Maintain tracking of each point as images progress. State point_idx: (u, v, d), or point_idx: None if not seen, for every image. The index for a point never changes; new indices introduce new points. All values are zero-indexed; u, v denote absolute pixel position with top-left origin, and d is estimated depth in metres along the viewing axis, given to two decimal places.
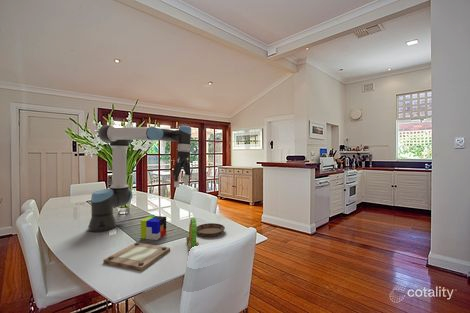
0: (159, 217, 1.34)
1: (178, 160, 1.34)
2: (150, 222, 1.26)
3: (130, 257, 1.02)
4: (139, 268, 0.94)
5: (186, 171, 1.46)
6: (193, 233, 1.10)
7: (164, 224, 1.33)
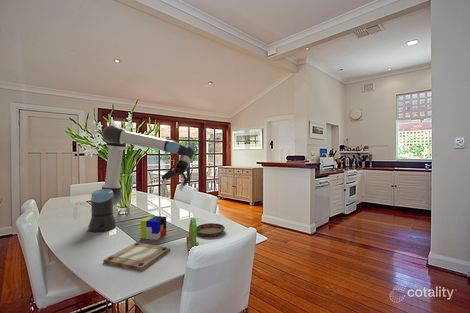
0: (159, 217, 1.34)
1: (189, 170, 1.51)
2: (150, 222, 1.26)
3: (130, 257, 1.02)
4: (139, 268, 0.94)
5: (168, 177, 1.51)
6: (193, 233, 1.10)
7: (164, 224, 1.33)
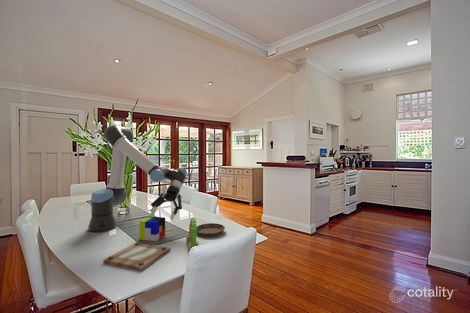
0: (158, 218, 1.32)
1: (180, 196, 1.43)
2: (149, 223, 1.25)
3: (130, 257, 1.02)
4: (139, 268, 0.94)
5: (158, 204, 1.42)
6: (193, 233, 1.10)
7: (163, 225, 1.32)
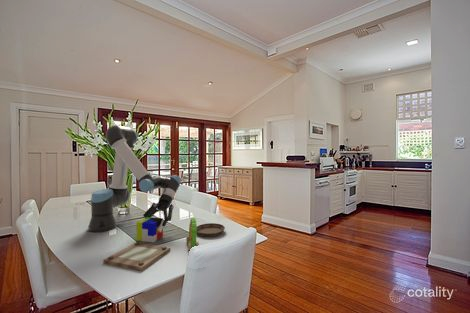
0: (156, 219, 1.30)
1: (172, 206, 1.37)
2: (146, 224, 1.23)
3: (130, 257, 1.02)
4: (139, 268, 0.94)
5: (151, 215, 1.36)
6: (193, 233, 1.10)
7: None
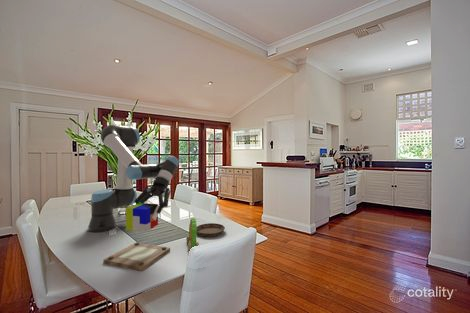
0: (149, 205, 1.09)
1: (169, 191, 1.17)
2: (137, 210, 1.02)
3: (130, 257, 1.02)
4: (139, 268, 0.94)
5: (144, 201, 1.15)
6: (193, 233, 1.10)
7: None
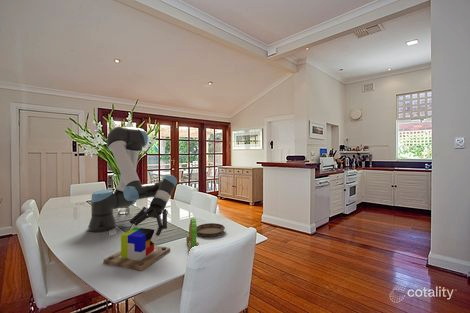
0: (145, 230, 1.07)
1: (166, 212, 1.15)
2: (132, 237, 1.00)
3: None
4: (139, 268, 0.94)
5: (139, 221, 1.14)
6: (193, 233, 1.10)
7: None
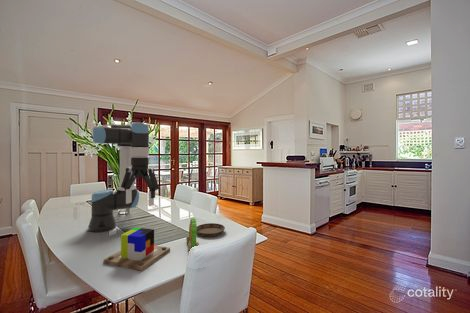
0: (145, 230, 1.07)
1: (152, 170, 1.03)
2: (132, 237, 1.00)
3: None
4: (139, 268, 0.94)
5: (131, 184, 1.07)
6: (193, 233, 1.10)
7: (151, 239, 1.07)
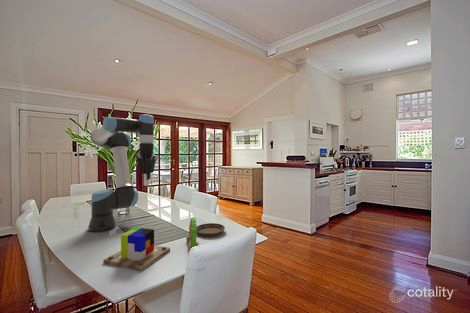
0: (145, 230, 1.07)
1: (155, 157, 1.26)
2: (132, 237, 1.00)
3: None
4: (139, 268, 0.94)
5: None
6: (193, 233, 1.10)
7: (151, 239, 1.07)
